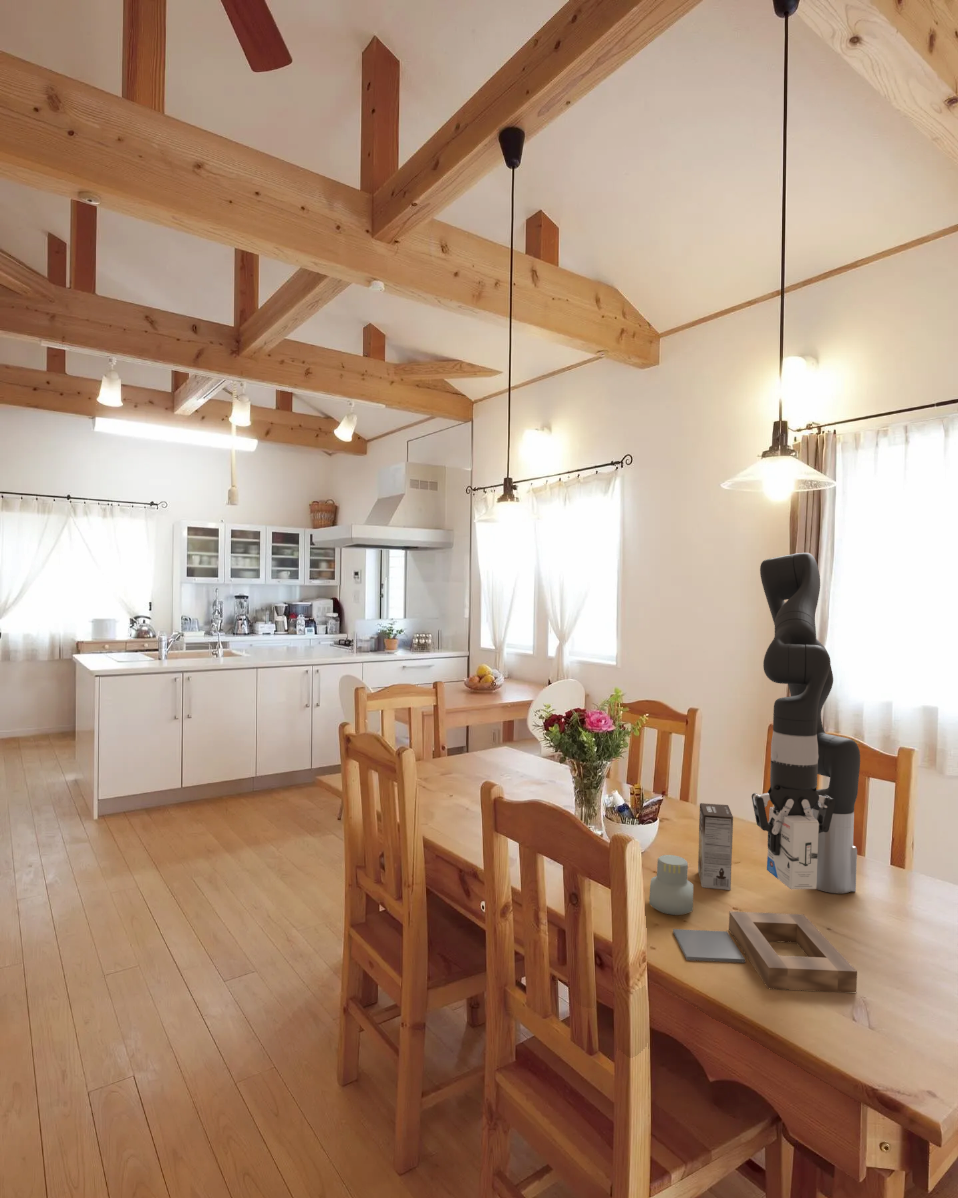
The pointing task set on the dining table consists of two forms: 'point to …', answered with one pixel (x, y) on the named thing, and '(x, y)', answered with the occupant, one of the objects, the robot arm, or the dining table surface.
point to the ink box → (796, 852)
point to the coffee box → (715, 846)
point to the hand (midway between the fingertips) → (791, 854)
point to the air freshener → (671, 886)
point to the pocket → (791, 972)
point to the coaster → (708, 945)
